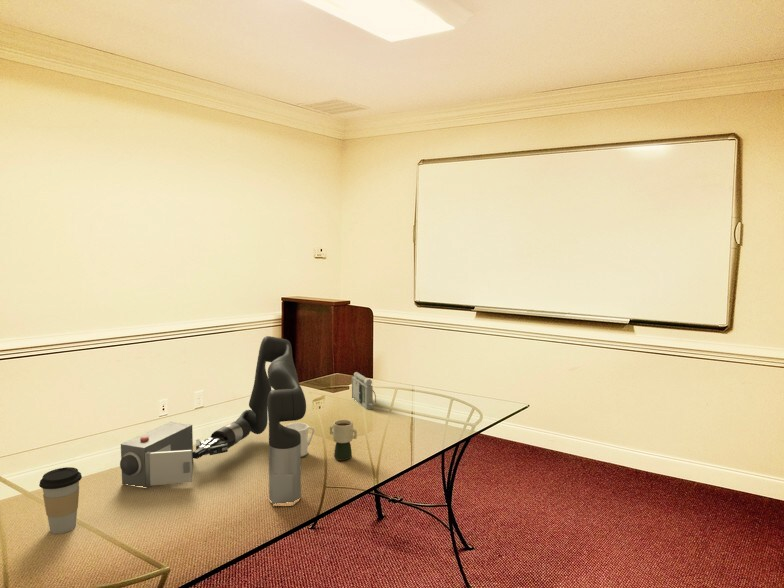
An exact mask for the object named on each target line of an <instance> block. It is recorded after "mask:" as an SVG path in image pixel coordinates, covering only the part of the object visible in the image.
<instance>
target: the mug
mask: <svg viewBox="0 0 784 588" xmlns="http://www.w3.org/2000/svg"><path fill="white" fill-rule="evenodd" d="M284 426H285V427H287V428H291V429H294V430H297V431H298V432H299V433H300V435H301V459H302V458H305V457H306V456H307V455H308V447H309V446H310V445H311V442H312V439H313V437H314V433H315V429H314V427H313V426H309V424H307V423H304V422H291V423H287V424H285V425H284ZM309 429H310V430H311V432H310V435H309ZM308 438H309V439H308Z"/></svg>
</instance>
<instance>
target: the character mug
mask: <svg viewBox="0 0 784 588" xmlns="http://www.w3.org/2000/svg"><path fill="white" fill-rule="evenodd" d="M329 435H332V439H333V442H334V443H335V445H334V446H335V447H334V452H333V453H334V455H333V457H334V459H336V460H339V461H344V460H349V459H350V458H352V457H353V455H352V454H353V452H352V445H351V442H352V441H353V439H354V440H357V438H358V431H357V429H354V422H353V421H352V420H349V419H338V420H337V419H336V420H335V421H333V425H330V426H329Z"/></svg>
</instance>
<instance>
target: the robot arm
mask: <svg viewBox="0 0 784 588" xmlns="http://www.w3.org/2000/svg"><path fill="white" fill-rule="evenodd" d="M292 349H293V348H292V344H291V342H290V341H289V340H288V339H286V338H281V337H275V336H269V335H265V336H264V337H263V338H262V341H261V342H260V346H259V350H258V356H257V362H256V368H255V374H254V382H253V383H254V384H253V387H252V391H251V394H250V398H249V402H248V408H250V409H246V410H244V411H242V413H241V415H239V417H238V418H237V419H235V421H233V422H230V423H228V424H225V425H223V426H222V427H221V428H219V429H217V430H214V431H213V432H212V433H211V435H210V437H208V438H205V439H204V440H200V439H196V440H195V450H193V452H192V453H193V459H194V460H195V459H197V460H198V459H200V458H201V457H203V456H207V455H209V456H215V455H218V454H219V455H220V454H224V453H227V452H228V450H229V449H231V448H232V447H234V446H235V445H236V444H238V443H239V442H241V441H242V440H243V439H245V438H246V437H248V436H249V435H250V433H253V434H255V435H260V434H262V433H264V431H265V430H266V428H267V426H268V494H269V495H268V496H269V497H268V498H269V499H270V500H271V501H272V504H275V503H276V504H277V503H286V502H294V501H295V500H297V499H299V498H300V497H301V498H302V468H301V466H302V464H301V463H302V462H301V461H302V460H301V459H302V458H301V435H300V433H299V432H298V431H297V430H294V429H291V428H287V427H285V425H282V424H281V422H296V421H299V420H301V419H303V418H304V417H305V415H306V412H307V401H306V396H305V394H304V391H303V389H302V387H301V384H300V383H299V377H298V372H297V369H296V366H295V363H294V358H293V350H292ZM267 363H270V364H269V366H268V368H267V369H266V364H267ZM269 499H268V500H269ZM272 504H271V505H272Z"/></svg>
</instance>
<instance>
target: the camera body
mask: <svg viewBox="0 0 784 588" xmlns="http://www.w3.org/2000/svg"><path fill="white" fill-rule="evenodd" d="M193 433H194V432H193V424H189V423H181V422H175V421H170V422H167V423H165V424H163V425H160V426H158V427H156V428H154V429H151V430H149V431H147V432H144V433H142V434H140V435H138V436H136V437H133V438H132V439H129V440H127V441H125V442H122V443H121V444H120V458H121V459H120V462H119V467H120V469H121V484H128V485H135V486H143V487H146V476H145V452H165V451H180V450H192V452H193V451H194V442H193V440H194V439H193V438H194V437H193ZM192 461H193V462H194V458H193V453H192ZM128 485H127V486H128Z"/></svg>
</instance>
